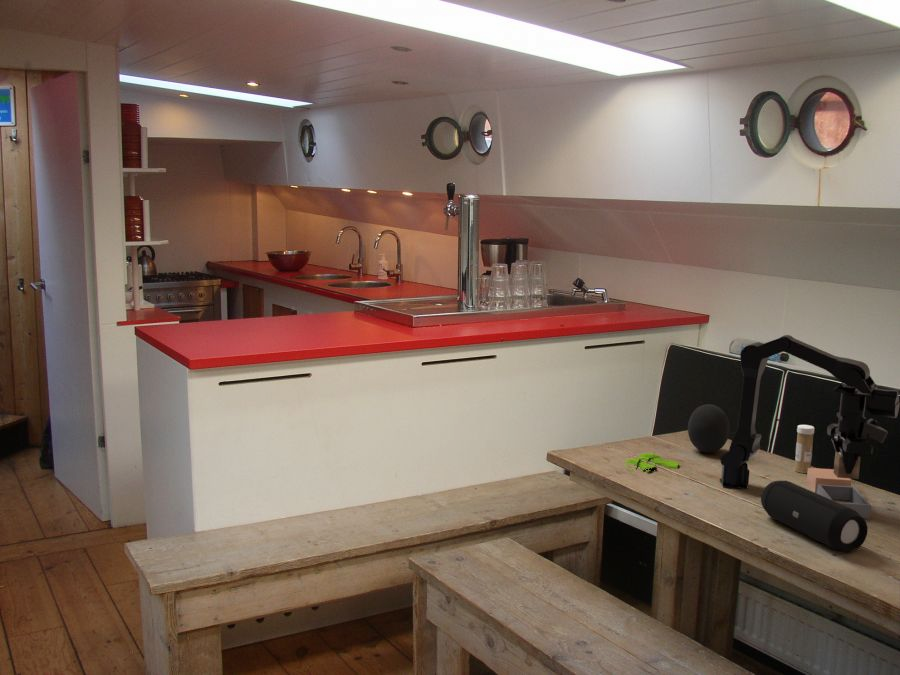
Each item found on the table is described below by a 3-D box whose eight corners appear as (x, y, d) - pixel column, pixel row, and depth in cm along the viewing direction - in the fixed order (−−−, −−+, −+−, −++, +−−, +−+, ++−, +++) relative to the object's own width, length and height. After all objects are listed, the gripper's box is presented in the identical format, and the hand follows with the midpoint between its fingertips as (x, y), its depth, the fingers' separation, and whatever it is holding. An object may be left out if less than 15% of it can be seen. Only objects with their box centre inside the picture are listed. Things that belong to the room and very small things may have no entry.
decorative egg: (697, 458, 269) (701, 410, 267) (679, 447, 281) (682, 400, 279) (735, 457, 272) (739, 409, 269) (715, 445, 284) (718, 399, 281)
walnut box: (837, 477, 226) (839, 455, 225) (833, 472, 230) (835, 451, 229) (858, 478, 226) (860, 457, 225) (853, 474, 230) (855, 452, 229)
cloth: (651, 453, 276) (651, 446, 275) (704, 473, 257) (705, 465, 257) (600, 462, 265) (600, 455, 265) (652, 484, 247) (652, 475, 247)
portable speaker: (756, 518, 221) (759, 479, 220) (788, 513, 225) (791, 475, 223) (834, 558, 198) (838, 515, 196) (868, 552, 201) (873, 510, 200)
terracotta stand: (814, 494, 239) (816, 478, 239) (806, 483, 248) (807, 467, 247) (849, 496, 238) (851, 480, 237) (840, 485, 247) (841, 469, 246)
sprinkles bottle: (811, 474, 256) (815, 428, 254) (794, 472, 258) (798, 427, 255) (809, 469, 261) (813, 425, 258) (793, 468, 262) (797, 423, 260)
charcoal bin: (831, 516, 223) (832, 502, 223) (816, 497, 237) (817, 484, 236) (869, 518, 222) (871, 505, 221) (853, 499, 236) (854, 486, 235)
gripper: (898, 422, 215) (892, 484, 217) (873, 404, 233) (868, 462, 236) (849, 420, 216) (843, 481, 219) (829, 402, 235) (823, 459, 237)
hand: (846, 471), depth 228 cm, fingers closed on walnut box, 4 cm apart
